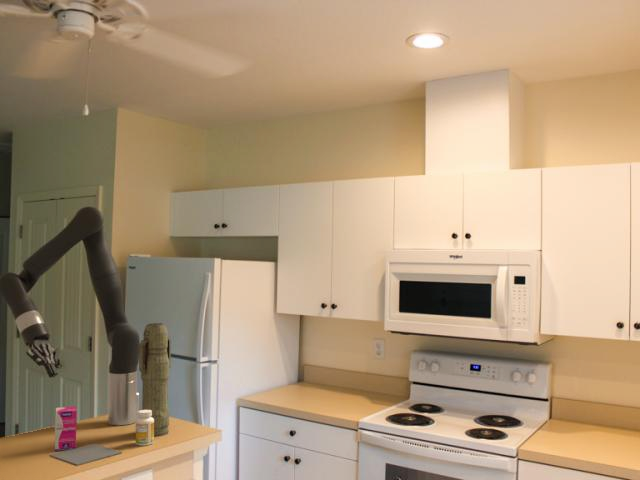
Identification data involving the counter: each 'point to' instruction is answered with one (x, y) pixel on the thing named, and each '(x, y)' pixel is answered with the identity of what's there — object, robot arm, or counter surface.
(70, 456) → the rubber mat
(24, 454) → the counter surface
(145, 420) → the supplement bottle
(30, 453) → the counter surface
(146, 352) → the thermos
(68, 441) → the supplement box
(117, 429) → the counter surface
